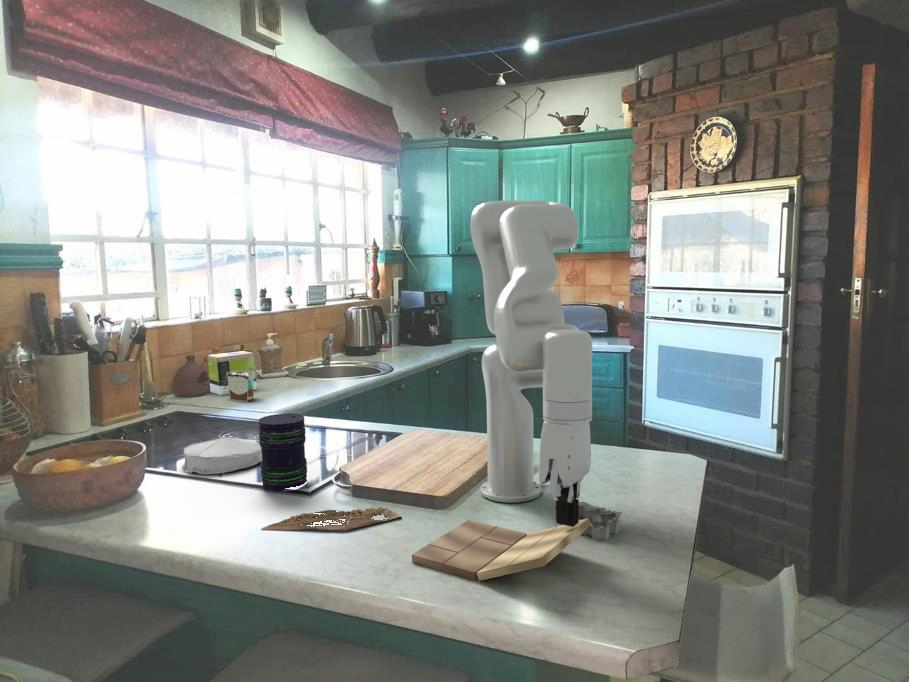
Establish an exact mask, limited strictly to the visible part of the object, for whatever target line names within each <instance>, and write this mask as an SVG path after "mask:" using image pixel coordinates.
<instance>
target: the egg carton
mask: <svg viewBox="0 0 909 682" xmlns="http://www.w3.org/2000/svg"><path fill="white" fill-rule="evenodd" d="M554 510H556V506H555V508H554ZM622 513H623V511H615V510H613V511H611V510H610V509H608V510H607V509H606V507H600V506H594V505H592V504H589V503H588V502H586V501H579V518H581V519H582V520H584V519H587V518H588V520H589V522H590V524H591V526H590V527H588V528H587V529H586V530H585V531H584V532H583V533H582V534H581V535H584V534H585V535H591V539H593V540H608V539H610V534H618V533H619V532H620V517H621V515H622ZM561 525H562V524H558V523H557V526H561Z"/></svg>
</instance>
